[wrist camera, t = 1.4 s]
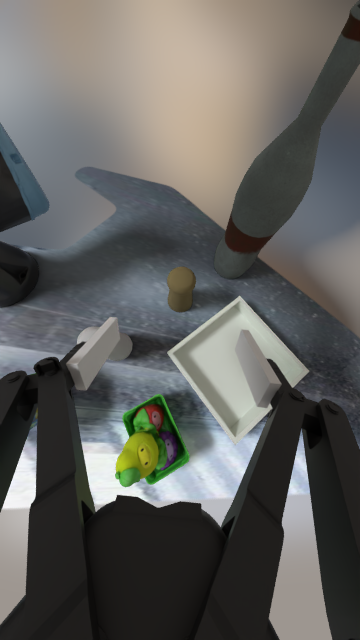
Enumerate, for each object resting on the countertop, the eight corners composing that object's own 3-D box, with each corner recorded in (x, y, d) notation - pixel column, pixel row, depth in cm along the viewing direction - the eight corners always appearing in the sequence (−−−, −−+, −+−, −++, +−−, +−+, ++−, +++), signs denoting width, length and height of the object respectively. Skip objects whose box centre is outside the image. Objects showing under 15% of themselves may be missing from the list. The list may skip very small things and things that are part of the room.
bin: (167, 353, 34) (166, 352, 30) (233, 302, 37) (239, 295, 33) (227, 434, 30) (235, 445, 26) (293, 369, 33) (309, 371, 30)
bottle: (241, 286, 38) (448, 54, 9) (206, 274, 39) (297, 21, 10) (250, 256, 40) (439, -7, 11) (217, 245, 41) (316, -31, 12)
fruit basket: (189, 443, 30) (197, 492, 19) (147, 469, 28) (129, 538, 18) (163, 387, 32) (157, 401, 21) (123, 409, 31) (94, 436, 20)
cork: (195, 309, 36) (203, 288, 26) (170, 314, 36) (167, 295, 25) (189, 286, 38) (194, 258, 27) (165, 291, 37) (161, 264, 27)
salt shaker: (125, 329, 35) (97, 312, 22) (140, 349, 34) (119, 343, 21) (103, 345, 34) (60, 336, 21) (117, 366, 33) (81, 370, 20)
